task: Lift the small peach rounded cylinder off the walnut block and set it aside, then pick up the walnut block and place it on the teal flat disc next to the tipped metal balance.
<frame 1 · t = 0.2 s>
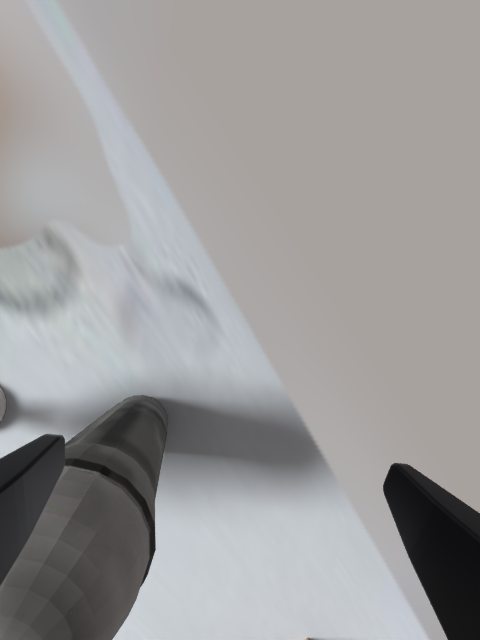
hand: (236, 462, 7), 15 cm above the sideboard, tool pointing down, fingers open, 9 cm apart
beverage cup: (140, 421, 22), on the sideboard
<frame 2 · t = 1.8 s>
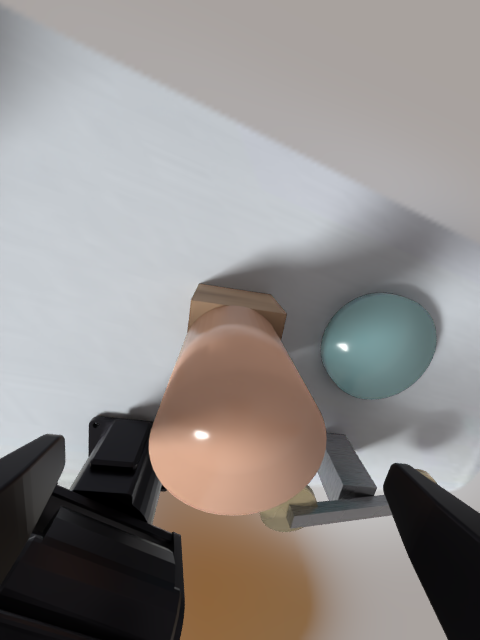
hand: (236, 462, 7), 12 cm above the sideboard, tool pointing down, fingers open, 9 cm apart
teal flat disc: (372, 344, 20), on the sideboard
peach rounded cylinder: (231, 352, 15), point 5 cm above the sideboard, touching block
block: (229, 322, 19), on the sideboard, touching peach rounded cylinder
balance: (327, 445, 23), on the sideboard
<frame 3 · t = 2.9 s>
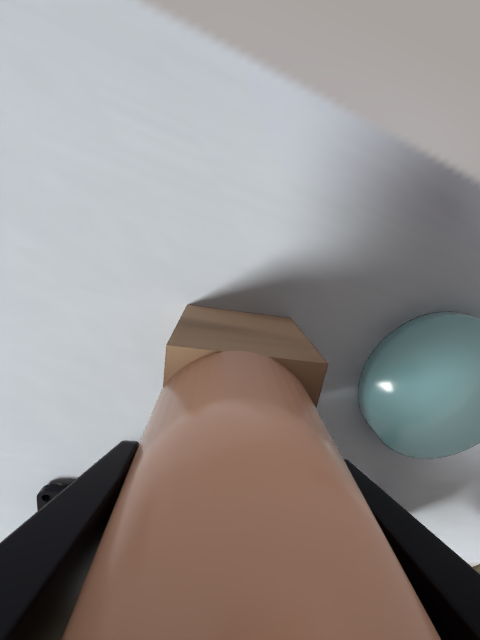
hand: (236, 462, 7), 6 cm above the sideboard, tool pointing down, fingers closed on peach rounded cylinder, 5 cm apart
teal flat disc: (430, 382, 15), on the sideboard
peach rounded cylinder: (233, 423, 9), point 5 cm above the sideboard, touching gripper
block: (232, 358, 14), on the sideboard
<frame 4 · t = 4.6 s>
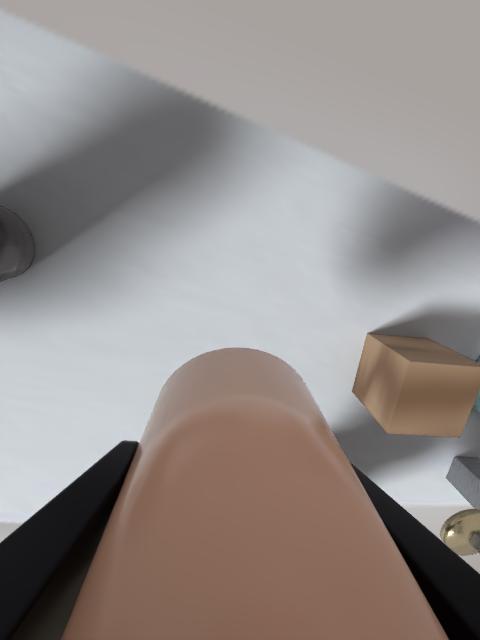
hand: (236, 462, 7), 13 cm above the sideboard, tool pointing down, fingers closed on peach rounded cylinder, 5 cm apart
peach rounded cylinder: (235, 420, 9), point 11 cm above the sideboard, touching gripper
block: (388, 365, 21), on the sideboard
balance: (462, 468, 25), on the sideboard
when the fingers open (2 cm above the sideboard, at t = 6.6 s): peach rounded cylinder stays where it is, on the sideboard.
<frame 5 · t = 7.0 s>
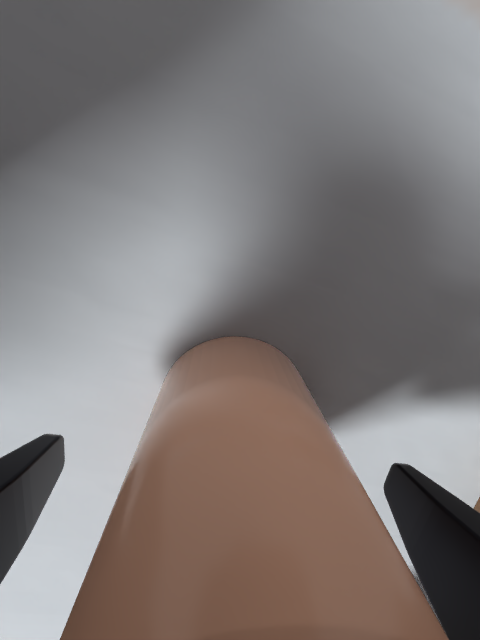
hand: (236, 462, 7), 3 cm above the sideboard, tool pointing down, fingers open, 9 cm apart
peach rounded cylinder: (233, 403, 10), on the sideboard
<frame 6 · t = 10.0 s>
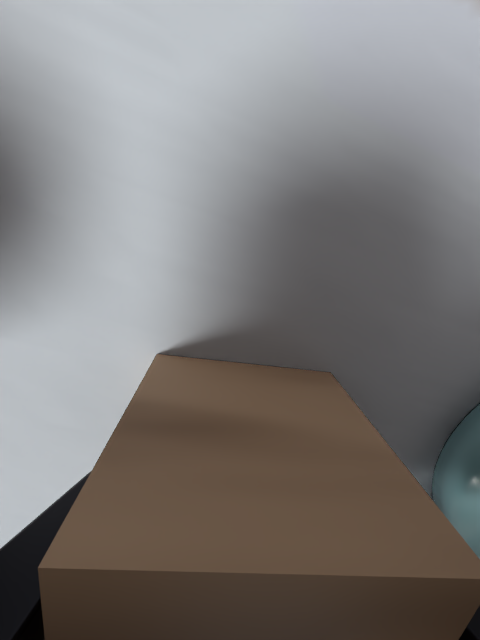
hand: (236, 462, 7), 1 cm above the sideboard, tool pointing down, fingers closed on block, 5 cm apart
block: (234, 436, 8), on the sideboard, touching gripper
when the fingers open (3 cm above the sideboard, at t = 13.7 s): block drops 1 cm, resting on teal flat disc.
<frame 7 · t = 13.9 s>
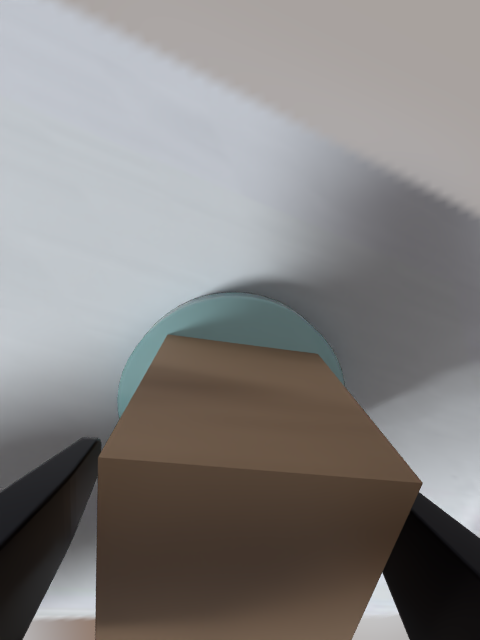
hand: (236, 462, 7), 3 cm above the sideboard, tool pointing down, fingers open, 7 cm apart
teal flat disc: (232, 391, 11), on the sideboard
block: (233, 409, 10), point 1 cm above the sideboard, touching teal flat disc
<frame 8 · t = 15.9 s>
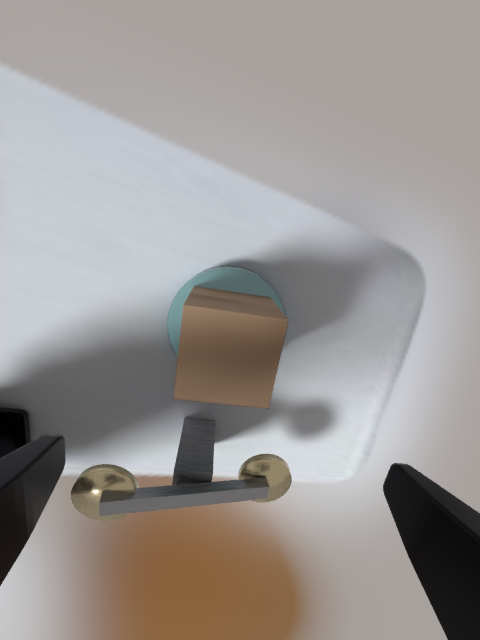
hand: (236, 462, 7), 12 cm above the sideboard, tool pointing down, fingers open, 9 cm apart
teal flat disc: (227, 322, 19), on the sideboard
block: (227, 327, 18), point 1 cm above the sideboard, touching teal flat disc
balance: (198, 431, 22), on the sideboard
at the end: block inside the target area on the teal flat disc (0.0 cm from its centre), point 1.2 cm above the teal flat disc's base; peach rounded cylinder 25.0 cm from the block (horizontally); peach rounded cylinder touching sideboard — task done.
